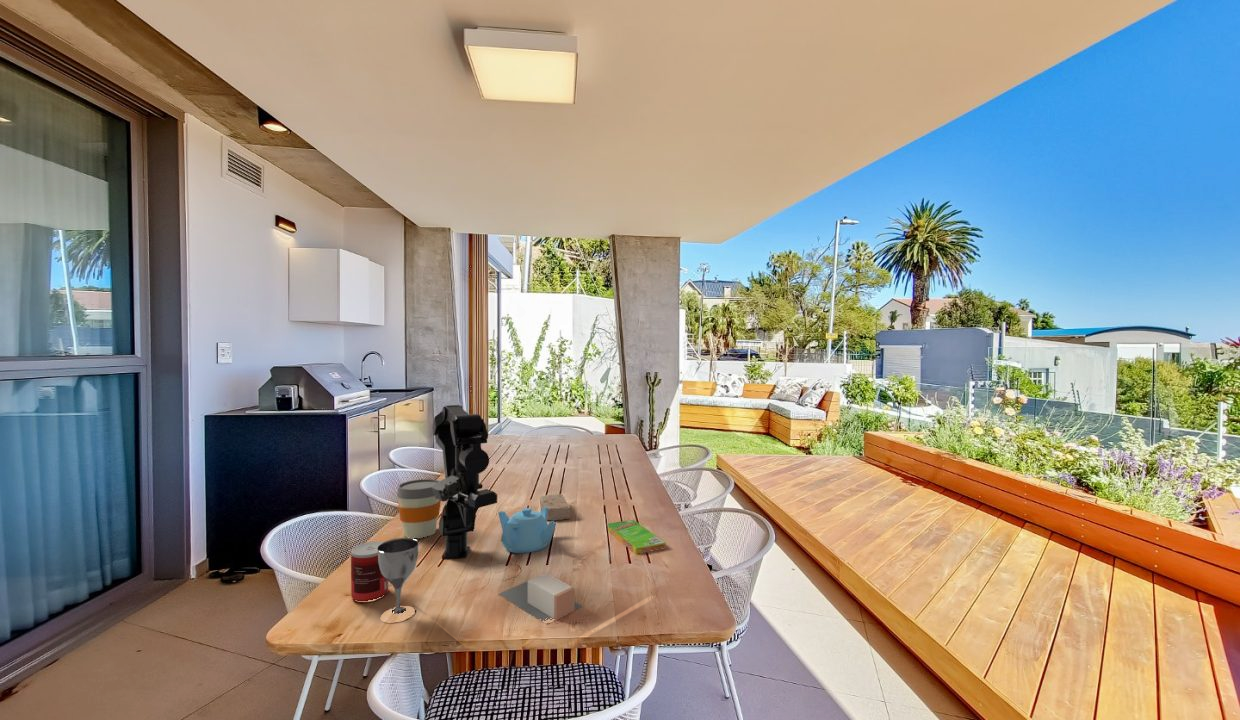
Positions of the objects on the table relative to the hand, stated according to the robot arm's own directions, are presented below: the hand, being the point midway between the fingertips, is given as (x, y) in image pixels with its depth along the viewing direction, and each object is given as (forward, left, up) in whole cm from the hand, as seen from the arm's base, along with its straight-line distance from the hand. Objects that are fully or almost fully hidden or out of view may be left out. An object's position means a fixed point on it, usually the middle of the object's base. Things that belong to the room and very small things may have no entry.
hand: (467, 525), depth 124 cm
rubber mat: (+16, +19, -12) cm, 28 cm away
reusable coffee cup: (-28, -19, -12) cm, 36 cm away
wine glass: (+18, -11, -12) cm, 24 cm away
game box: (-18, +46, -13) cm, 51 cm away
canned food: (+9, -20, -12) cm, 25 cm away
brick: (-43, +21, -13) cm, 50 cm away
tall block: (+16, +18, -9) cm, 26 cm away
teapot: (-16, +14, -12) cm, 25 cm away
